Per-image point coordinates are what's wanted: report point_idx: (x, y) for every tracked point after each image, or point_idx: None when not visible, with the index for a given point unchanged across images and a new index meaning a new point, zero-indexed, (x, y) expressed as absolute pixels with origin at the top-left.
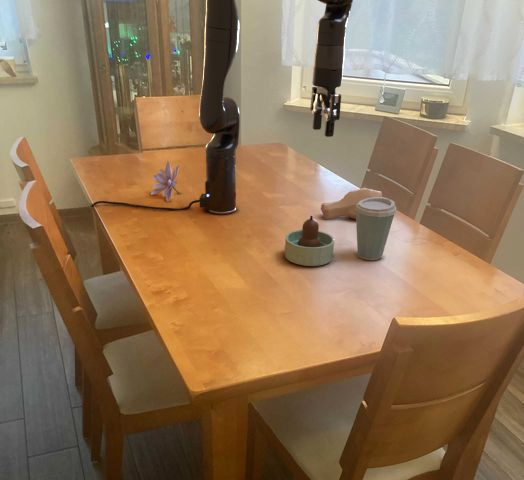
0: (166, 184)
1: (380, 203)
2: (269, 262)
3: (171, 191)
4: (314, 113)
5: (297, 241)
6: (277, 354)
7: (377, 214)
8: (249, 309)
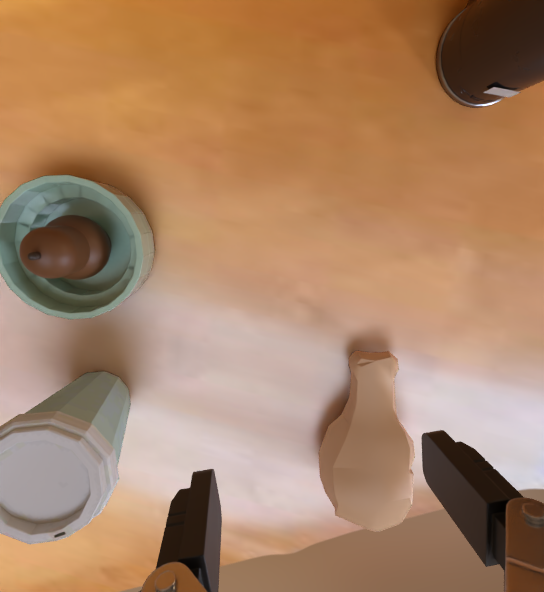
0: None
1: (67, 499)
2: (63, 132)
3: None
4: (505, 515)
5: (123, 224)
6: None
7: None
8: None
